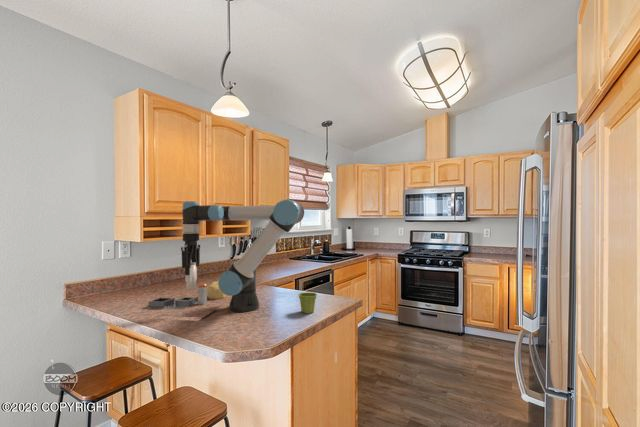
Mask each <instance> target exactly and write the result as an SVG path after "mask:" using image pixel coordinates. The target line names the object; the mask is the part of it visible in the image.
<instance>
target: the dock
mask: <svg viewBox="0 0 640 427" xmlns="http://www.w3.org/2000/svg"><path fill="white" fill-rule="evenodd" d="M195 304H198V297H196V296H183V297H180V298H177V299H175V297H157V298H155V299H152V300H150V301H148V307H147V308H148V309H163V310H164V309H167V310H185V309H188V308H190V307H192V306H194V305H195Z"/></svg>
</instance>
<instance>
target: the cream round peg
mask: <svg viewBox="0 0 640 427" xmlns="http://www.w3.org/2000/svg"><path fill="white" fill-rule="evenodd" d="M190 268H191V282H185V284H186V285H185V287H186V290H187V291H193V290H197V280H196V262H192V261H191V264H190Z"/></svg>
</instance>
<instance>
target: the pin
mask: <svg viewBox="0 0 640 427" xmlns="http://www.w3.org/2000/svg"><path fill="white" fill-rule="evenodd" d="M197 285H198V288H197V289H198V290H197V294H198V295H197V296H198V303H197V305H198V306H199V305H200V306H201V305H203V306H204V305H206V304H208V296H207V288H208V284H207V283H199V284H197Z"/></svg>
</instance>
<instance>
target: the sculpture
mask: <svg viewBox="0 0 640 427" xmlns="http://www.w3.org/2000/svg"><path fill="white" fill-rule="evenodd" d="M227 296H228V295H226V294H224V293H223V292H222V291H221V290H220V288H219V284H218V280H217V281H212V282H211V283H210V284H209V285H207V299H210V300H221V299H225V298H227Z"/></svg>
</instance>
